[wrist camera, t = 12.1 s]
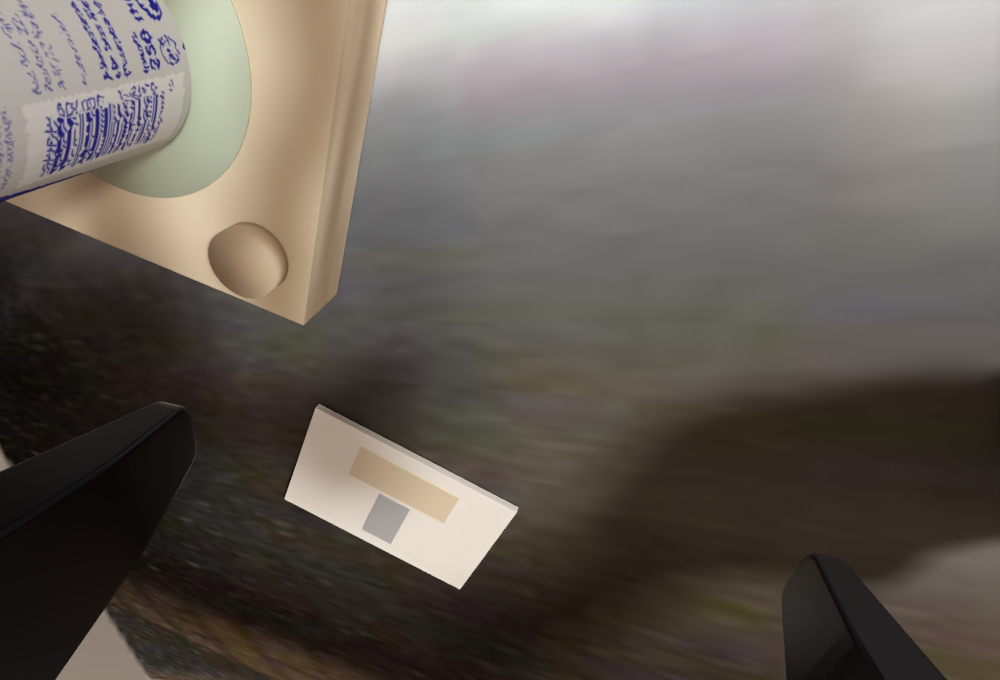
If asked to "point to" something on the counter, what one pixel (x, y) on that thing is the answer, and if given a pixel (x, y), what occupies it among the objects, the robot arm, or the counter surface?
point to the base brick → (246, 154)
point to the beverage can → (85, 87)
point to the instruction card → (395, 498)
